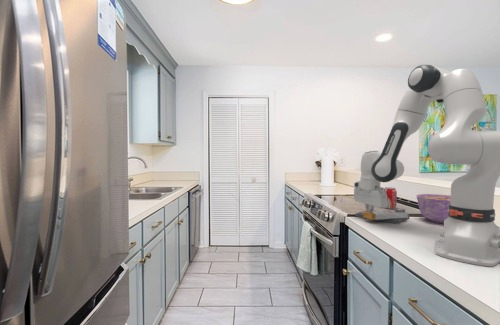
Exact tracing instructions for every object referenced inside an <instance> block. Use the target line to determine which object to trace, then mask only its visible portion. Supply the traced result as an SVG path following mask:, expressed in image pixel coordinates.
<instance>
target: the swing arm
mask: <svg viewBox="0 0 500 325" xmlns="http://www.w3.org/2000/svg"><path fill="white" fill-rule="evenodd" d="M362 211H363V217H364V218H363V219H367V220H372V221H378V220H379V219H395V218H408V215H409V212H408V211H406V209H405V208H398V207H396V208H395V209H386V210H376V211H365V210H362Z"/></svg>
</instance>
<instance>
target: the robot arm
mask: <svg viewBox="0 0 500 325" xmlns="http://www.w3.org/2000/svg"><path fill="white" fill-rule="evenodd" d="M407 86H408V87H409V88H408V89H407V90H406V91H405V93H404V95H403V97H402V99H401V100H400V103H399V105H398V108H397V111H396V112H395V115H394V116H395V117H394V120H393V124H392V126H391V128H390V132H389V134H388V137H387V139H386V142H385V143H384V146H383V149H382V152H381V151H380V150H373V151H371V150H370V151H367V152H364V153H363V154H362V156H361V161H360V174H361V175H360V180H358V181H355V182H353V186H354V188H353V199H354V201H355V202H357V203H361V204H364V208H365V210H366V211H373V210H375V208H379V209H386V207H387V194H386V191H385V187H382V186H381V183H388V182H391V181H393V180H397V179H399V178H400V177H402V176H403V174H404V172H405V166H404V164H403V163H402V162H401V161H400V160H399V159H398V157H399V155H400V152H401V150H402V148H403V146H404V143H405V142H406V141H407V139H408V138H409V137H410V136H411V135H413V134H414V133H416V132H417V131H419V129H420V127H421V126H422V124H423V122H424V120H425V118H426V115H427V112H428V109H429V107H430V105H431V104H432V103H433V102H434V101H435V102H437V103H438V104H440V103H443V106H444V113H445V114H444V115H445V116H444V117H445V121H444V125H443V126H442V128H441V129H440V130H439V131H438V132H436V133H434V135H433V136H431V138H430V139H429V140H428V142H427V154H428V155H429V157H430V158H431V159H432V161H434V162H437V163H441V164H446V165H464V166H465V165H470V168H469V170H468V171H467V172H466V173H465V174H464V175H462V176H458V177H457V178H455V179H454V180H453V181H452V182H451V184H450V196H451V202H450V205H449V208H448V216H449V217H448V218H447V219H446V220H444V223H443V232H441V233H440V237H441V238H443V239H436V240H435V249H434V250H435V252H434V253H435V255H437V256H440V257H443V258H447V259H450V260H454V261H458V262H463V263H466V264H472V265H477V266H485V267H494V266H497V265H498V264H499V263H500V227H499V226H498V225H497V224H496V223H495V219H496V210H495V208H494V200H495V191H496V190H495V189H496V187H497V186H496V185H497V183H498V180H499V179H500V130H473V129H472V126H474V125H477V124H478V123H479V122H481V121H482V120H483V119H484V118H485V116H486V115H487V106H486V102H485V98H484V93H483V90H482V86H481V84H480V82H479V79H478V77H477V76H476V74H475V73H474V71H473V70H472V69H469V68H458V69H457V68H456V69H454V70H452V71H451V70H448V69H446V68H444V67H438V66H433V65H431V64H419V65H418V66H416V67H415V68H414V69H413V70H411V72H410V74H409V76H408V79H407Z"/></svg>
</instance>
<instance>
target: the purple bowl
mask: <svg viewBox="0 0 500 325" xmlns="http://www.w3.org/2000/svg"><path fill="white" fill-rule="evenodd" d="M415 196H416V200H417V204H418V209H419V211H420V214H421V215H422V217H424V218H425V219H427V220H429V221H430V222H433V223H437V224H444V220H446V219H447V218H448V217H449V216H448V208H449V205H450V202H451V194H450V195H449V194H448V195H447V194H437V193H435V194H434V193H420V194H416V195H415Z"/></svg>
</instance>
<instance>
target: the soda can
mask: <svg viewBox="0 0 500 325" xmlns="http://www.w3.org/2000/svg"><path fill="white" fill-rule="evenodd" d="M384 189H385V191H386V194H387V207H386V208H385V209H386V210H395V208H397V203H398V202H397V197H398V196H397V195H398V194H397V192H398V191H397V190H396V187H392V186H391V187H387V186H385V187H384Z"/></svg>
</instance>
